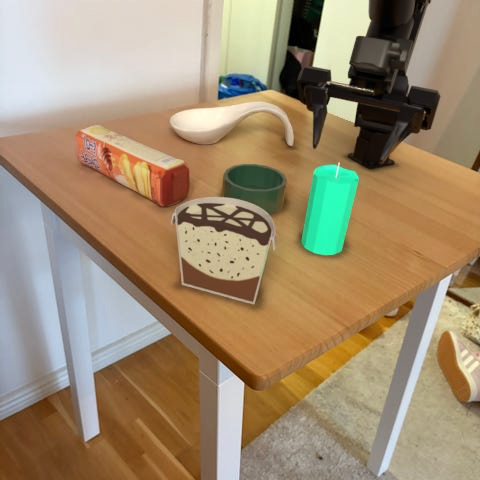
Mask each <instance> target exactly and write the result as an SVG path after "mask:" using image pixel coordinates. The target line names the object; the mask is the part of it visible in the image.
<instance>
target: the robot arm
mask: <svg viewBox="0 0 480 480" xmlns="http://www.w3.org/2000/svg"><path fill="white" fill-rule="evenodd" d="M431 2H432V0H368V11H367V12H368V19H369V20H370V22H369V23H368V27H367V30H366V34H365V35H357V36H356V37H355V40H354V43H353V47H352V50H351V54H350V58H349V62H348V64H349V68H348V71H347V79H350V80H349V83H343V82H338V81H332V70H331V69H328V68H322V67H317V66H312V65H305V66H303V68H302V69H301V70H300V71H299V73H298V77H297V78H296V79H297V80H296V86H297V91H298V97H299V102H300V103H301V104H302V105H304V106H306V109H307V110H308V111H309V112H311V113H312V149H314V150H317V148H318V146H319V144H320V141H321V137H322V134H323V130H324V126H325V122H326V119H327V115H328V106H329V103H330V100H331V98H333V99H338V100H342V101H346V102H347V101H348V102H352V103H357V105H356V111H355V117H354V124H353V127H354V128H359V132H358V135H357V136H356V140H355V145H354V149H353V152H349V153H348V154H347V157H348V158H349V159H351V160H353V161H355V162H357V163H358V164H360V165H361V166H364V167H366V168H367V169H369V170H373V169H379V168H382V167H387V166H393V165H395V163H396V161H395V160H394V159H392V158H391V155H392V153H393V152H394V151H395V149H397V147H398V146H399V145H400V144H401V143H402V142H403V141H405V139H407V138H408V137H409V136H410V135H411V134H414V135H415V134H419V133H420V132H421V130H422V131H429V130H432V126H433V124H434V121H435V117H436V115H437V111H438V108H439V104H440V100H441V97H442V96H441V94H440V92H439V90H438V89H433V88H427V87H421V86H417V85H411V86H410V84H409V78H408V76H407V72H408V68H409V65H410V62H411V59H412V56H413V53H414V50H415V46H416V43H417V41H418V37H419V34H420V31H421V28H422V25H423V21H424V18H425V15H426V13H427V12H426V11H427V8H428V6H429V4H430V5H431Z"/></svg>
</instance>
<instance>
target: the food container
mask: <svg viewBox="0 0 480 480" xmlns="http://www.w3.org/2000/svg"><path fill="white" fill-rule="evenodd" d="M173 224H175V227H176V228H175V230H176V240H177V241H176V242H177V250H178V261H179V270H180V279H181V285H182V286H185V287H189V288H192V289H196V290H199V291H203V292H207V293H210V294H214V295H217V296H221V297H225V298H229V299H232V300H235V301H239V302H242V303H247V304H251V305H254V306H255V304H256V301H257V299H258V296H259V291H260V288H261V284H262V280H263V276H264V272H265V268H266V266H267V261H268V256H269V253H270V249H271V245H272V248H273V249H272V250H273V251H276V248H277V244H278V243H277V242H278V239H277V229H276V225H275V223H274V220H273V217H272V216H271V214H268V213H267V212H266V211H265V210H263V209H262V208H260V207H258V206H256V205H254V204H252V203H249V202H246V201H243V200H239V199H234V198H226V197H223V196H208V197H200V198H194V199H191V200H187V201H186V202H183V203H182V204H179V205H178V206H177V207H175V209H174V212H173V213H172V214H171V221H170V225H171V226H173Z"/></svg>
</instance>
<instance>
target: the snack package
mask: <svg viewBox="0 0 480 480" xmlns="http://www.w3.org/2000/svg"><path fill="white" fill-rule="evenodd" d="M75 146H76V149H75V150H76V155H77V156H76V157H77V159H78V161H79V162H80V163H81V164H82V165H84V166H87V167H89V168H92V169H93V170H95V171H97V172H99V173H101V174H103V175H104V176H106V177H108V178H109V179H111V180H113V181H115V182H117V183H118V184H120V185H122V186H124V187H126V188H128V189H130V190H132V191H134V192H136V193H137V194H139V195H141V196H143V197H145V198H147V199H148V200H151V202H154V203H155V204H157V205H159V206H160V207H163V208H164V207H165V208H166V207H171V206H173V205H175V204H178V203H179V202H182V200H184V199H185V198H186V197H187V196H188V194H189V192H190V185H191V184H190V167H189V165H188V163H187V162H186V161H185V160H183V159H180V158H177V157H174V156H172V155H169V154H167V153H165V152H163V151H160V150H158V149H156V148H153V147H151V146H148V145H146V144H143V143H141V142H139V141H137V140H134V139H132V138H129V137H128V136H125V135H122V134H120V133H118V132H115V131H113V130H110V129H108V128H106V127H104V126H103V125H101V124H92V125H90V126H86V127H84V128H81V129H79V130H78V131H77V133H76V135H75Z"/></svg>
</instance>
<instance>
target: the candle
mask: <svg viewBox="0 0 480 480" xmlns="http://www.w3.org/2000/svg"><path fill="white" fill-rule="evenodd" d="M337 163H338V164H323V165H320V166H317V167H315V169H314V171H313V174H312V180H311V184H310V190H309V196H308V202H307V207H306V213H305V217H304V224H303V229H302V235H301V240H300V243H301V244H302V246H303V248H304V249H306V250H308V251H309V252H311V253H313V254H316V255H321V256H333V255H334V256H335V255H336V254H339V253H341V252H342V251H343V247H344V244H345V239H346V235H347V231H348V227H349V223H350V220H351V219H350V218H351V216H352V211H353V207H354V203H355V199H356V193H357V190H358V186H359V182H360V177H359V176H358V174H357V172H356V171H355V170H351V169H347V168H344V167H342V166H340V163H341V162H339V161H338V162H337Z"/></svg>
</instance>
